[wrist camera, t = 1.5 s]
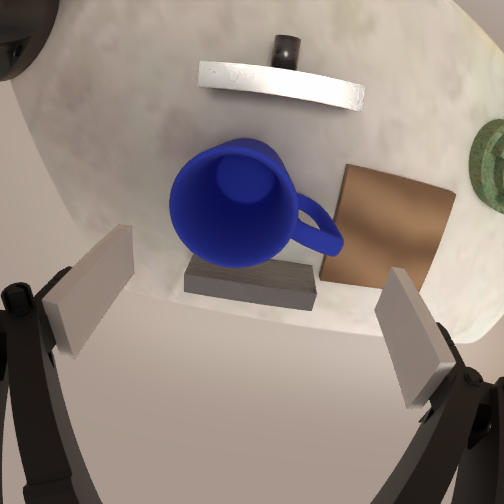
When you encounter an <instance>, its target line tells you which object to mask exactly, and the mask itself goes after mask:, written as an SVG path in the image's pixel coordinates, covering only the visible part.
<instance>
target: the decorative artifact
mask: <svg viewBox="0 0 504 504" xmlns="http://www.w3.org/2000/svg"><path fill="white" fill-rule="evenodd" d="M469 174H470V179H471V183H472V186H473V189H474V191H475V192H476V194H477V196H478V197H479V198H480V199H481V200H482V201H483V202H484V203H486V204H487V205H489V206H490V207H492V208H493V209H495V210H496V211H497V212H499V213H502V214H504V120H502V119H497V120H493V121H490V122H489V123H487V124H486V125H484V126H483V127H482V128H481V130H480V131H479V132H478V134H477V135H476V137H475V139H474V142H473V144H472V147H471V151H470V157H469Z"/></svg>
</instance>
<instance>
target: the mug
mask: <svg viewBox="0 0 504 504" xmlns="http://www.w3.org/2000/svg"><path fill="white" fill-rule="evenodd" d="M169 208H170V216H171V220H172V223H173V226H174V229H175V231H176V233H177V234H178V236H179V238H180V239H181V240H182V242H183V243H184V244H185V245H186V246H187V248H189V249H190V250H191V251H192V252H193V253H194V254H196V255H197V256H199V257H200V258H202V259H204V260H205V261H208V262H210V263H212V264H215V265H219V266H223V267H229V268H244V267H250V266H254V265H258V264H260V263H263V262H265V261H267V260H269V259H271V258H272V257H274V256H275V255H276V254H277V253H279V252H280V251H281V250H282V249H283V248H284V247H285V245H286V244H287V243H288V242H289V240H290V238H291V239H293V240H295V241H296V242H298V243H300V244H302V245H304V246H306V247H308V248H310V249H313V250H315V251H317V252H320V253H323V254H325V255H328V256H332V257H335V256H337V255H338V254H339V253H340V251H341V249H342V247H343V245H344V239H343V237H342V235H341V233H340V232H339V230H338V228H337V226H336V225H335V223H334V221H333V220H332V219H331V217H330V216H329V214H328V213H327V212H326V211H325V210H324V209H323V208H322V207H321V206H320V205H319V204H318V203H316V202H315V201H313V200H312V199H310V198H308V197H306V196H304V195H301V194H298V193H296V190H295V188H294V185H293V183H292V181H291V179H290V177H289V175H288V173H287V171H286V169H285V167H284V165H283V163H282V161H281V159H280V157H279V156H278V155H277V153H276V152H275V151H274V150H273V149H272V148H271V147H269V146H268V145H266V144H265V143H263V142H261V141H258V140H254V139H248V138H241V139H235V140H231V141H229V142H226V143H223V144H221V145H218V146H216V147H213V148H211V149H208V150H206V151H204V152H202V153H200V154H198V155H196V156H195V157H194V158H192V159H191V160H190V161H189V162H188V163H187V164H186V165H185V166H184V167H183V168H182V169H181V170H180V172H179V173H178V175H177V177H176V179H175V181H174V183H173V186H172V189H171V193H170V200H169ZM298 209H300V210H302V211H303V212H305V213H306V214H308V215H309V216H310V217H311V218H312V219H313V220H314V221H315V222H316V223H317V225H318V226H319V228H320V230H319V229H317V228H314V227H312V226H309V225H307V224H305V223H304V222H302V221H301V220H300V219H299V218H298Z"/></svg>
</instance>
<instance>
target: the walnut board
mask: <svg viewBox="0 0 504 504" xmlns="http://www.w3.org/2000/svg"><path fill="white" fill-rule="evenodd" d="M455 197H456V194H455V193H453V192H452V191H449V190H446V189H442V188H439V187H436V186H432V185H429V184H425V183H422V182H418V181H415V180H411V179H407V178H404V177H400V176H396V175H392V174H388V173H384V172H380V171H376V170H372V169H368V168H363V167H359V166H354V165H350V164H347V165H346V169H345V174H344V178H343V183H342V187H341V192H340V196H339V200H338V204H337V208H336V213H335V217H334V223H335V225H336V226H337V228H338V230H339V232H340V233H341V235H342V237H343V239H344V245H343V247H342V249H341V251H340V253H339V254H338V255H337V256H335V257H332V256H328V255H324V259H323V263H322V266H321V270H320V274H319V278H320V280H321V281H328V282H335V283H342V284H349V285H357V286H364V287H372V288H379V289H383V288H384V285H385V283H386V280H387V278H388V275H389V272H390V270H391V267H396V268H402V269H405V271H406V272H407V274H408V276H409V277H410V279H411V281H412V282H413V284H414V286H415V287H416V289H417V291H418V292H420V289H421V287H422V285H423V283H424V280H425V278H426V276H427V273H428V271H429V269H430V266H431V264H432V261H433V259H434V256H435V254H436V251H437V249H438V246H439V244H440V241H441V238H442V235H443V233H444V230H445V227H446V224H447V221H448V219H449V216H450V213H451V210H452V206H453V203H454V200H455Z"/></svg>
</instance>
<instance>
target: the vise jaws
mask: <svg viewBox="0 0 504 504" xmlns="http://www.w3.org/2000/svg"><path fill="white" fill-rule="evenodd" d="M300 42H301V39H299V38H297V37H293V36H287V35H276V36H275V42H274V48H273V55H272V62H271V67H265V66H257V65H249V64H239V63H227V62H212V61H200V67H199V74H198V82H197V86H198V87H206V88H216V89H228V90H238V91H247V92H255V93H263V94H270V95H277V96H283V97H289V98H295V99H301V100H306V101H312V102H317V103H322V104H327V105H331V106H336V107H340V108H345V109H349V110H355V111H360V112H361V109H362V103H363V97H364V91H365V86H362V85H358V84H354V83H350V82H346V81H342V80H338V79H333V78H329V77H324V76H319V75H314V74H309V73H304V72H298V71H296V69H297V62H298V55H299V49H300ZM184 292H188V293H194V294H200V295H205V296H211V297H218V298H224V299H230V300H236V301H243V302H249V303H256V304H263V305H270V306H277V307H284V308H292V309H299V310H307V311H312V308H313V305H314V302H315V298H316V295H317V292H316V286H315V280H314V274H313V269H312V266H310V265H304V264H297V263H290V262H284V261H277V260H270V259H269V260H267V261H265V262H263V263H260V264H258V265H254V266H250V267H244V268H229V267H223V266H219V265H215V264H212V263H210V262H208V261H205V260H204V259H202V258H200V257H199V256H197V255H196V254H194V255H193V257H192V259H191V261H190V263H189V265H188V267H187V269H186V271H185V274H184Z"/></svg>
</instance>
